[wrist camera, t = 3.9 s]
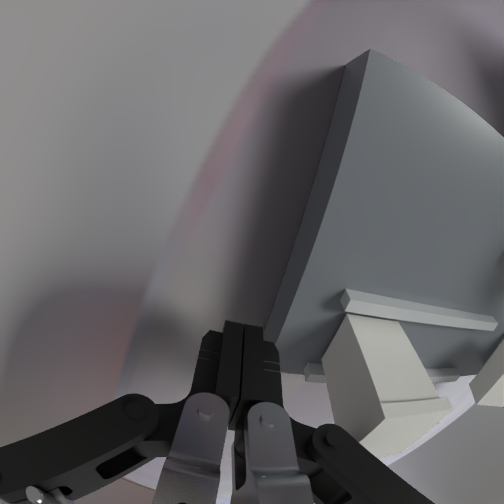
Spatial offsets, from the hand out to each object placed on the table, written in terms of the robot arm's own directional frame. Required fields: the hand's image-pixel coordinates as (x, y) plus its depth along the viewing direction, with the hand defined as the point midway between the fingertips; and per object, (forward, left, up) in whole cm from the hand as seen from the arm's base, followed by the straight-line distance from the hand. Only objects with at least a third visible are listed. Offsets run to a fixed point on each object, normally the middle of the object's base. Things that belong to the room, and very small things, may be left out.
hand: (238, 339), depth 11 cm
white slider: (0, +6, -1) cm, 6 cm away
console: (-5, +14, -4) cm, 15 cm away
